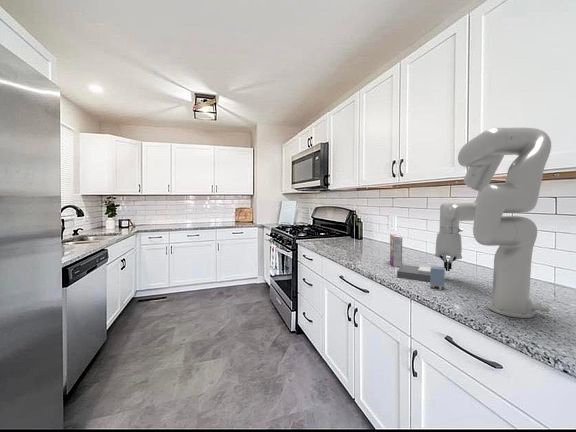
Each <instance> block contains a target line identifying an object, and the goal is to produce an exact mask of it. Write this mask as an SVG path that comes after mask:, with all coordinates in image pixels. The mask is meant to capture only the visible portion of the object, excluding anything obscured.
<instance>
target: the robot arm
mask: <svg viewBox="0 0 576 432" xmlns="http://www.w3.org/2000/svg"><path fill="white" fill-rule="evenodd" d="M551 150H552V141H551V138H550V136H549V135H548V133H546V132H545V131H544V130H542V129H539V128H533V127H493V128H489V129H486V130H484V131H482V132H481V133H479V134H477V136H475V137H473V138H472V139H469V141H468V142H467V143H465V144H464V145H463V146H462V147H461V148H460V150H459V152H458V153H457V154H458V156H457V162H458V164H459V165H460V166H462V167H464V168H466V167H467V168H468V169H467V172H466V173H465V175H464V177H463V183H464V184H465V186H467V187H468V188H470V189H471V190H472V189H473V190H475V191H477V192H478V193H477V197H476V198H475V200H474V201H473V202H460V203H459V202H458V203H454V202H453V203H451V202H444V203H441V204H440V206H439V209H440V210H439V232H437V234H436V239H435V253H434V256H435V257H436V258H440V260H442V261H443V267H445V272H450V270H452V269H453V268H452V266H453V263H454V261H455V260H462V259H463V256H462V247H463V245H462V243H463V242H462V235H461V233H460V232H463V231H464V229H463V228H460V222H466V221H467V222H470V221H471V222H473V227H472V234H473V238H474V240H475V241H476V242H477V243H478V244H479V245H482V246H486V247H487V246H489V247H490V246H493V247H494V246H495V247H497V246H498V248H497V250H496V251H495V254H494V258H493V272H492V273H493V274H492V275H493V279H492V280H493V281H492V296H491V297H492V299H490V300H488V301H487V302H486V308H488V309H489V310H490V311H492V312H494V313H497V314H500V315H502V316H506V317H513V318H517V319H519V318H520V319H529V318H530V319H531V318H533V317H535V315H536V311H540V312H544V313H545V312H546V313H549V311H550V307H549V305H544V304H542V302H541V303H540V302H532V300H531V299H530V292H531V291H530V289H531V288H530V287H531V272H532V257H533V250H534V246H535V243H536V241H537V237H538V229H537V228H538V227H537V225H536V224H535V222H534V221H533V220H531V219H530V218H528V217H525V216H520V215H519V216H517V215H508V216H507V215H503V214H520V213H521V214H522V213H528V212H531V211H532V210H534V208H535V207H536V205H537V203H538V199H539V196H540V190H541V185H542V182H543V175H544V171H545V167H546V164H547V161H548V159H549V157H550V154H551ZM511 155H513V156H514V155H515V156H517V157H516V158H515V159H514V160H513V161H512V163H511V164H510V166H509V168H508V169H507V172H506V179H505V181H504V183H503V182H498V183H497V182H495V183H491V181H492V179H493V178H494V176H495V174H496V172H497V170H498V169H499V166H500V164H501V162H502V160H503V158H504V157H505V156H511ZM447 256H448V257H449V260H447Z"/></svg>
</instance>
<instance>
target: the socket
mask: <svg viewBox="0 0 576 432" xmlns="http://www.w3.org/2000/svg"><path fill="white" fill-rule="evenodd" d="M419 267H420V266H417V265H408V264H402V265H401V267H398V270H397V271H396V272H397V275H396V277H397V278H399V279H405V280H414V281H421V282H426V283H427V282H428V283H430V273H424V272H418V269H419Z"/></svg>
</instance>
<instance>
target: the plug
mask: <svg viewBox="0 0 576 432" xmlns="http://www.w3.org/2000/svg"><path fill="white" fill-rule="evenodd" d="M430 268H431V272H430V282H429V283H430V284H429V285H431V287H432V288H435V286H437V287H438V288H439V290H440V291H441V290H443V288H442V287H445V275H446V274H445V272H446V269H445V267H444V266H437V265H436V266H434V265H431V266H430Z"/></svg>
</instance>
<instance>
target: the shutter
mask: <svg viewBox="0 0 576 432" xmlns="http://www.w3.org/2000/svg"><path fill="white" fill-rule="evenodd" d="M433 266H437V265H436V264H433ZM418 267H419V269H418V272H424V273H430V272H431V267H428V266H418Z"/></svg>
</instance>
